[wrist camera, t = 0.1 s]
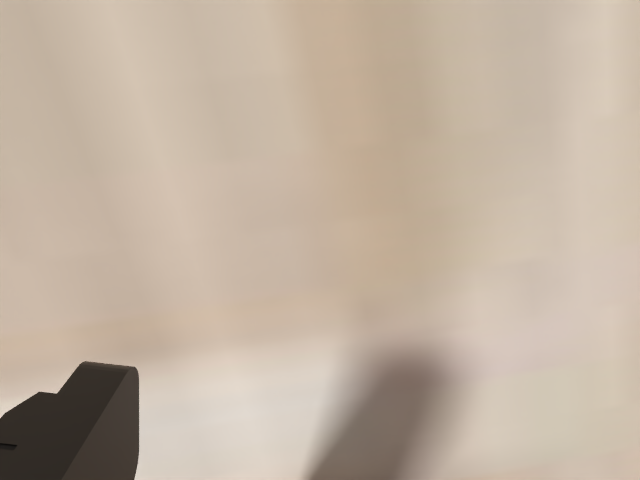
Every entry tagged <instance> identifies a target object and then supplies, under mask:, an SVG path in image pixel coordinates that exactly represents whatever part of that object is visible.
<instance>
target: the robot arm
mask: <svg viewBox="0 0 640 480" xmlns="http://www.w3.org/2000/svg"><path fill="white" fill-rule="evenodd" d="M138 456H139V375H138V371H137V369H136V368H135V367H131V366H122V365H113V364H104V363H95V362H87V361H85V362H82V363H81V364H80V365H79V366H78V367H77V369H76V370H75V371H74V372H73V374H72V375H71V376H70V378H69V379H68V380H67V382H66V383H65V384H64V385H63V387H62V388H61V389H60V391H59V392H58V393H57V394H54V393H45V392H38V393H37V394H35V395H34V396H32V397H30V398H29V399H27V400H25V401H24V402H22V403H21V404H19V405H17V406H16V407H14V408H13V409H11V410H9V411H8V412H6V413H5V414H4V415H3V416H2V417H1V418H0V480H134V478H135V474H136V469H137V464H138Z"/></svg>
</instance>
